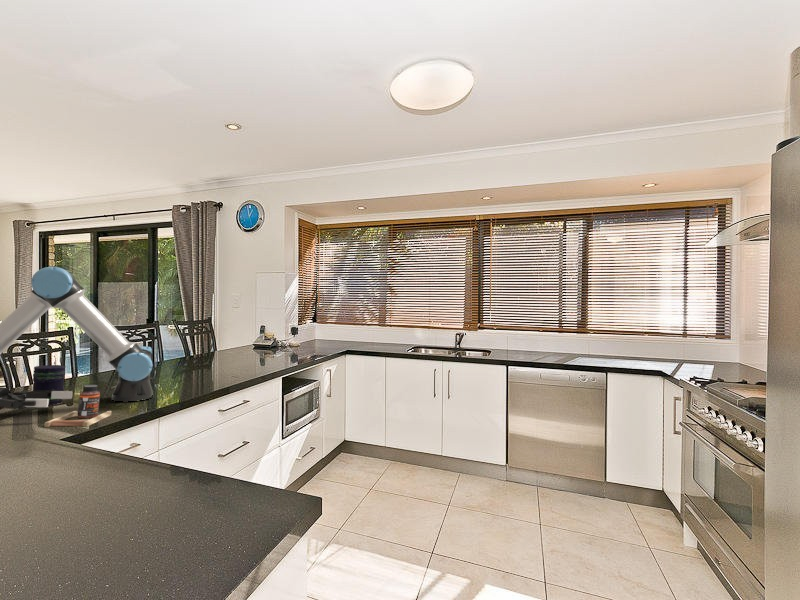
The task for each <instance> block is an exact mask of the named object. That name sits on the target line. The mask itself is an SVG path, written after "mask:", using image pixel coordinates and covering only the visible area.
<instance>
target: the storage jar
mask: <svg viewBox="0 0 800 600" xmlns="http://www.w3.org/2000/svg"><path fill="white" fill-rule="evenodd" d="M32 377H33V378H32V381H33V384H32V385H33V387H32V391H44V390H52V389H54V390H55V391H65V390H64V380H65V378H66V365H65V364H64V365H63V364H51V365H50V364H46V365H44V364H43V365H36V366H34V367H33V375H32ZM45 399H49V403H48V405H53V404H57V403H61V402H62V403H63V399H51V398H45ZM62 403H61V404H62ZM53 406H54V405H53Z"/></svg>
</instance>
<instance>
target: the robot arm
mask: <svg viewBox="0 0 800 600" xmlns="http://www.w3.org/2000/svg"><path fill="white" fill-rule="evenodd" d="M30 280H31V281H30V284H31V288H32V290H30V296H28V297H27V299H25V300H24V301H23V302H22V303H21V304H20V305H18V307H17V308H15V309H14V310H13V311H12V312H11V313H10V314H9V315H8V316H7V317H6V318H4V319H3V320H2V321H1V322H0V355H2V353H4V352H5V351H6V350H7V349H8V348H9V347H10V346H11V345H12V344H13V343H15V341H16V340H18V339H19V337H20V336H22V335H23V334H24V333H25V332H26V331H27V330H28V329H29V328H30V327H32V326H33V325H34V324H35V323H36V322H37V321H38V320H39V319H40V318H41V317H42V316H43V315H44V314H45V313H46V312H48V310H49V309H50V308H54V309H58V310H59V309H60V310H62V311H63V312H64V314H66V315H67V316H68V317H69V318H70V319H71V320H72V321H73V322H74V323H75V325H77V326H78V327H79V328H80V329H81V330H82V331H83V332H84V333H85V334H86V335H87V336H88V337H89V338H90V339H91V340H92V341H93V342H94V343H95V344H96V345H97V346H98V347H99V348H100V349H101V350H102V351H103V352H104V353H105V354H106V355H107V357H108V359H107V362H108V363H109V364H110V365H111V366H112V367H113V368H114V369H115V370H116V371H117V374H118V379H117V383H116V386H115V387H114V390H113V392H112V394H111V401H112V400H114V401H113V402H115V401H123V402H122V403H129V402H128V401H137V400H142V399H146V398H149V397H151V396H152V395H153V396H154V392H153V388H152V385H151V382H150V381H151V380H150V378H151V377H150V376H151V372H152V370H153V366H154V364H153V360H152V354H153V349H152V347H151V346H139V345H138V344H137V342H134V341H133V342H132V341H129V340H128V339H127V338H126V337H125V336H124V335H123V334H122V333H121V332H120V331H119V330H118V328H116V326H114V325H113V323H112V322H110V320H109V319H108V318H107V317H106V316H105V315H104V314H103V313H101V311H100V310H99V309H98V308H97V307H96V306H95V305H94V304H93V303H92V302H91V301H90V300H89V299H88V297H86V296H85V293H86V292H85V291H86V290H85V288H84V287H83V286H82V285H81V284H80V283H79V282H78V280H77V279H76V277H75V276H74V275H73V274H72V273H71V272H69V271H68V270H66V269H64V268H61V267H58V266H48V267H43V268H40V269H39V270H37V271H36V272H35V273H34V274H33V275H32V277H31V279H30ZM45 398H51V399H62V400H71V399H72V400H73V391H72V390H70V391H69V390H66V391H65V390H64V391H55V390H54V389H52V390H44V391H33V390H31V391H30V390H28V391H27V390H26V391H24V390H22V391H14V392H12V391H10V389H9V388H8V387H0V410H4V409H5V408H6V409H12V410H15V409H18V410H19V411H20V410H24V408H49V406H48V403H49V399H45Z"/></svg>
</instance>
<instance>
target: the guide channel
mask: <svg viewBox="0 0 800 600" xmlns="http://www.w3.org/2000/svg"><path fill="white" fill-rule="evenodd" d="M75 416H78V410H73V411H70V412H67V413H66V414H63V415H60V416H58V417H55V418H53V419H50V420H47V421H45V422H44V423H43V424H44V425H43V426H44V428H49V427H59V426H60V427H64V426H65V427H66V426H67V427H69V426H71V427H72V426H74V427H77V426H78V427H79V426H82V427H83V428H88V427H89V426H91V425H93V424H95V423H98V422H99V421H102V420H103V419H106V418H108V417H110V416H112V410H107V411H105V412H103V413H101V414H98V416H96V417H93V418H89V419H87V420H85V419H84V420H80V419H79V420H73V419H72V420H68V419H71V418H73V417H75Z"/></svg>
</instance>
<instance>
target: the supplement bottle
mask: <svg viewBox="0 0 800 600" xmlns="http://www.w3.org/2000/svg"><path fill="white" fill-rule="evenodd" d="M100 398H101V393H100V390H99V391H98V385H97V384H85V385H83V390H82V391H81V392H80V393H79V399H78V407H77V418H79V419H84V420H85V419H92V418H94V417H96V416H98V415H99V409H100V408H99V407H100V400H101V399H100Z"/></svg>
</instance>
